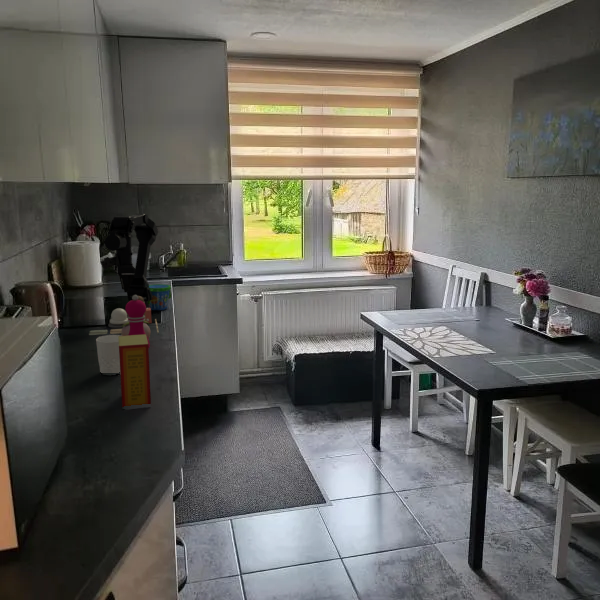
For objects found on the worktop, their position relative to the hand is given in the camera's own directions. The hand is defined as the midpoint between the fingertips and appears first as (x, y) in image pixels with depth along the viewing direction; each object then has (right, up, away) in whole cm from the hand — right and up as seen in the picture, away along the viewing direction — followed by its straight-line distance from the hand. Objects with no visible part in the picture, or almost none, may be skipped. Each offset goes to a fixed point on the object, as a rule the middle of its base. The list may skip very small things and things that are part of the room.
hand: (124, 290), depth 206 cm
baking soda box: (+27, -29, -74) cm, 83 cm away
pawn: (+9, -14, -11) cm, 20 cm away
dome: (0, -12, -4) cm, 13 cm away
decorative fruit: (+14, -20, -29) cm, 38 cm away
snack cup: (+5, -8, +29) cm, 30 cm away
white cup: (+14, -24, -53) cm, 60 cm away
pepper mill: (+17, -22, -41) cm, 49 cm away
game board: (+1, -15, -7) cm, 16 cm away
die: (+7, -12, +1) cm, 14 cm away
